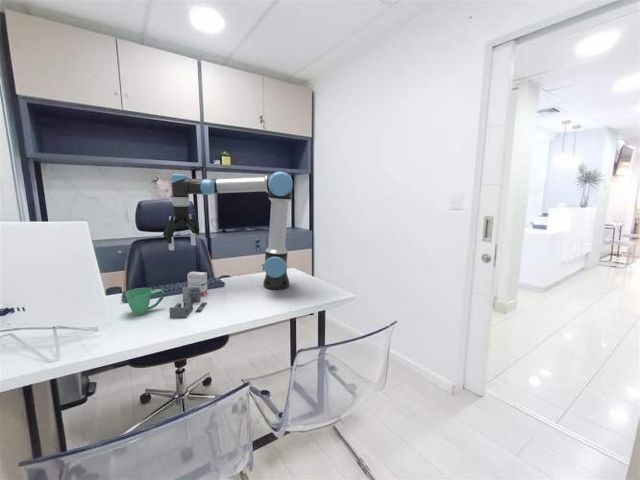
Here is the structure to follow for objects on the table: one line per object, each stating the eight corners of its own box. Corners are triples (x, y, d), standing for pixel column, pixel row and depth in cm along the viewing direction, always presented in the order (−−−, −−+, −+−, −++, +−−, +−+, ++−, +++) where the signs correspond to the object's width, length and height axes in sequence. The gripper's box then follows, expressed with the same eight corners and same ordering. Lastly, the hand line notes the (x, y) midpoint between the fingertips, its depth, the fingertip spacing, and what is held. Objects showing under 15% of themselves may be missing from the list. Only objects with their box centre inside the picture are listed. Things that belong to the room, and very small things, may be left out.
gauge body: (207, 302, 145) (207, 294, 145) (196, 318, 129) (196, 308, 128) (183, 302, 144) (183, 294, 144) (169, 318, 128) (169, 308, 127)
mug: (128, 319, 125) (126, 297, 123) (126, 311, 133) (124, 290, 131) (166, 312, 134) (165, 291, 132) (162, 304, 142) (161, 284, 140)
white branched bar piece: (206, 300, 147) (206, 287, 146) (201, 307, 139) (201, 293, 138) (183, 300, 146) (183, 287, 145) (177, 307, 138) (176, 293, 137)
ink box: (208, 293, 157) (207, 272, 155) (203, 297, 153) (202, 274, 150) (192, 292, 158) (191, 270, 156) (187, 295, 153) (186, 273, 151)
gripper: (195, 204, 160) (196, 242, 164) (152, 206, 138) (155, 251, 142) (205, 205, 157) (206, 244, 161) (164, 207, 135) (166, 253, 139)
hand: (182, 247), depth 151 cm, fingers open, 13 cm apart
